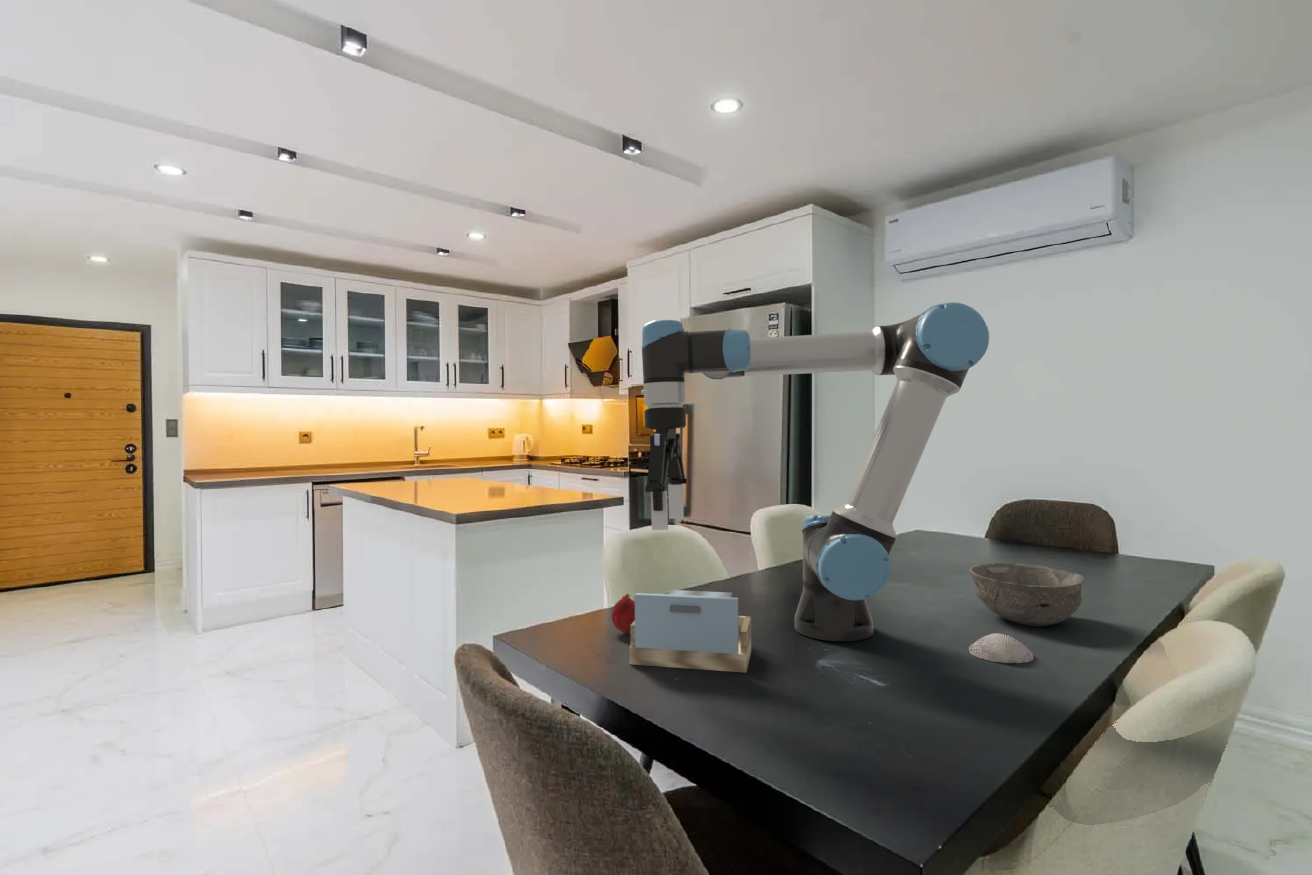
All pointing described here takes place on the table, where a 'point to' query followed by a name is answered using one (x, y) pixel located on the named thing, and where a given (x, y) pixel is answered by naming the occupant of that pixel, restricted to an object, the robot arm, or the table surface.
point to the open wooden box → (694, 657)
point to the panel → (686, 623)
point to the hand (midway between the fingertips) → (668, 523)
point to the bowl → (1028, 592)
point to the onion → (623, 614)
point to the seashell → (1000, 649)
